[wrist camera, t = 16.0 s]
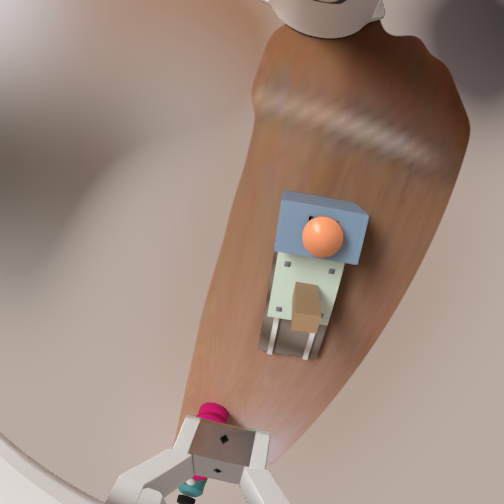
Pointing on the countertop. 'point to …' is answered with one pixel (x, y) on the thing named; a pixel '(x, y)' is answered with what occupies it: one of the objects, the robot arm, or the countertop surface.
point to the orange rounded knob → (322, 236)
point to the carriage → (304, 290)
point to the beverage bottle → (190, 492)
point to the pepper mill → (213, 414)
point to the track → (287, 333)
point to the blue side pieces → (304, 205)
